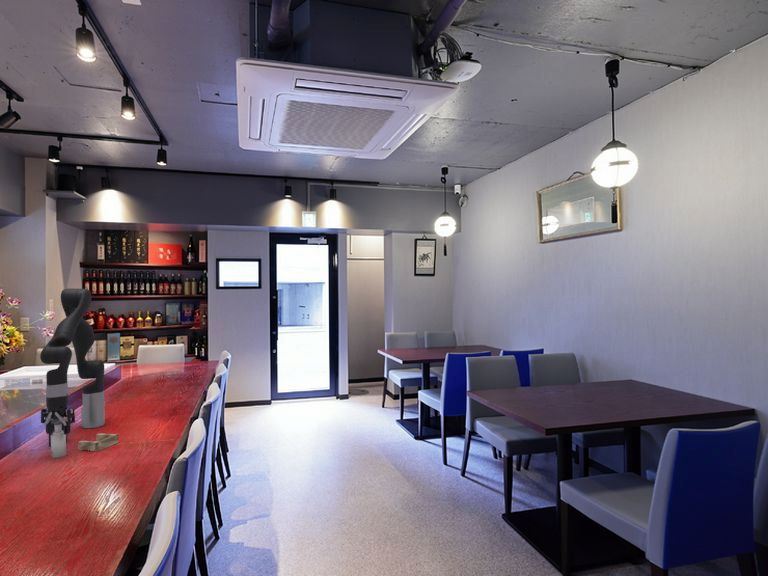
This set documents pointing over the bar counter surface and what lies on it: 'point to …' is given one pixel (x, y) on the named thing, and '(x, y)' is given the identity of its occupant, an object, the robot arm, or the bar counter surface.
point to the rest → (99, 442)
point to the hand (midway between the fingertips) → (58, 433)
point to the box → (54, 430)
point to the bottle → (58, 441)
